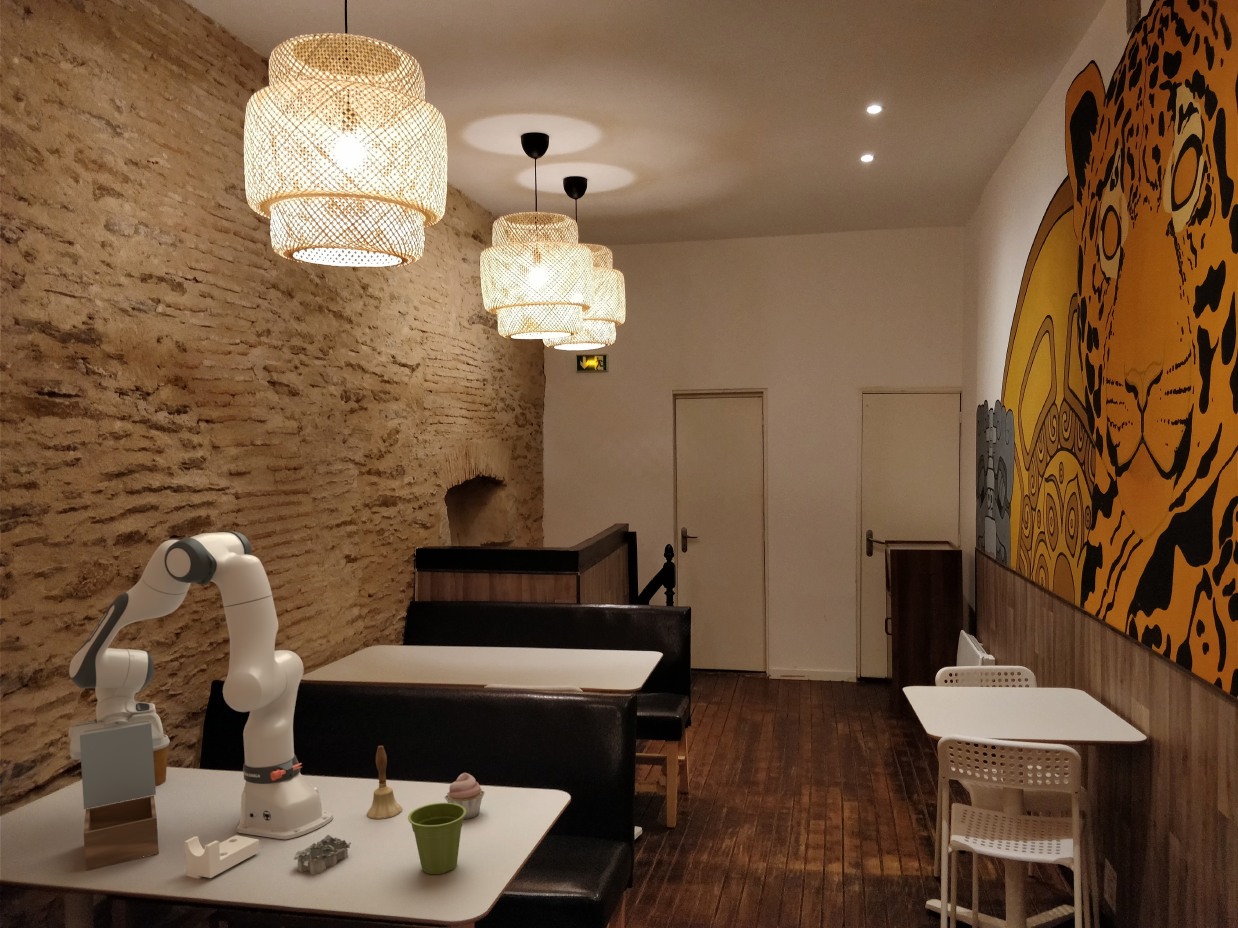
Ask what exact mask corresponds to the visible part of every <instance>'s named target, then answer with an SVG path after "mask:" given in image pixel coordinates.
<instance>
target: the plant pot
mask: <svg viewBox="0 0 1238 928" xmlns="http://www.w3.org/2000/svg"><path fill="white" fill-rule="evenodd" d="M465 814H466V809H465V808H464V807H463V806H461V805H459V804H455V803H448V802H437V803H435V802H434V803H430V804H426V805H423V806H420V807H416V808H415V809H414V810H412V811H410V813H409V814H408V815H407V821H409V823H410V824H411V828H412V831H413V833H414V837H415V842H416V846H417V852H418V856H419V857H418V858H419V861H420V867H421V871H424V872H425V873H427V874H429V875H442V874H446V873H447V872H448V871H452V870H454V869H455V868H456V867H457V866H458V857H459V849H460V842H461V841H460V840H461V834H462V826H463V825H464V824H463V823H464V819H463V817H464V816H465Z"/></svg>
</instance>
